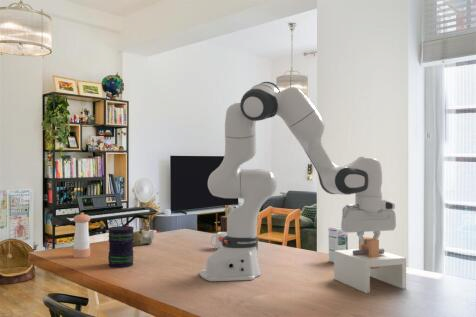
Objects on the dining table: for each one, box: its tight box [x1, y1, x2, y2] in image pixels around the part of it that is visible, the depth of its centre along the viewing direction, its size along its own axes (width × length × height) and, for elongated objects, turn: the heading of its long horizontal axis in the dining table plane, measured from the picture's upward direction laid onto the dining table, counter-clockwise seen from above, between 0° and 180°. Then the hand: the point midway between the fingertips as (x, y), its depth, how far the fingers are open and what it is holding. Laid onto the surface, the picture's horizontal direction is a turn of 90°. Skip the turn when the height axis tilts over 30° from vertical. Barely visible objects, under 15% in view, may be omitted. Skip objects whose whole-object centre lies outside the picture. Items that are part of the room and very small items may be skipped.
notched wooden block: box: [358, 236, 380, 269], centre depth 144 cm, size 3×7×10 cm, turn 20°
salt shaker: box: [72, 212, 91, 259], centre depth 185 cm, size 7×7×19 cm
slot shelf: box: [333, 247, 407, 294], centre depth 144 cm, size 16×18×12 cm
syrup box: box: [328, 226, 349, 264], centre depth 178 cm, size 6×6×14 cm
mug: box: [210, 231, 227, 250], centre depth 205 cm, size 12×8×8 cm
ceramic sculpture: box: [133, 228, 155, 246], centre depth 213 cm, size 11×9×15 cm
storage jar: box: [107, 225, 135, 269], centre depth 169 cm, size 10×10×15 cm
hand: (368, 244), depth 144 cm, fingers closed on notched wooden block, 3 cm apart
